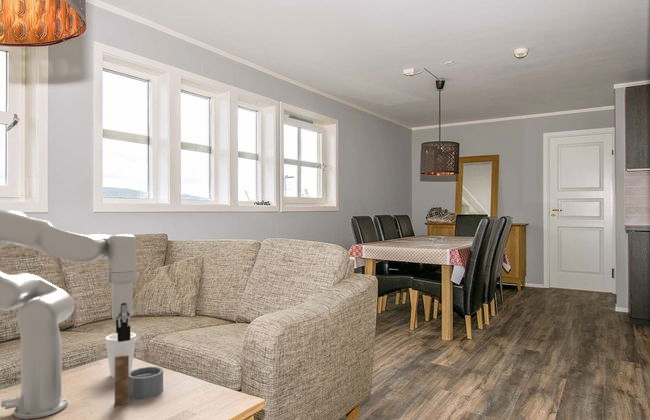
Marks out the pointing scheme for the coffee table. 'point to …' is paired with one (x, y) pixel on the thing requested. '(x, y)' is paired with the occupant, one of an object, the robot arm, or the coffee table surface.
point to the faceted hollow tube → (145, 383)
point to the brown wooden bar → (121, 379)
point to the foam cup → (119, 350)
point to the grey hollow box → (146, 375)
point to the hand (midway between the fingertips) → (123, 336)
